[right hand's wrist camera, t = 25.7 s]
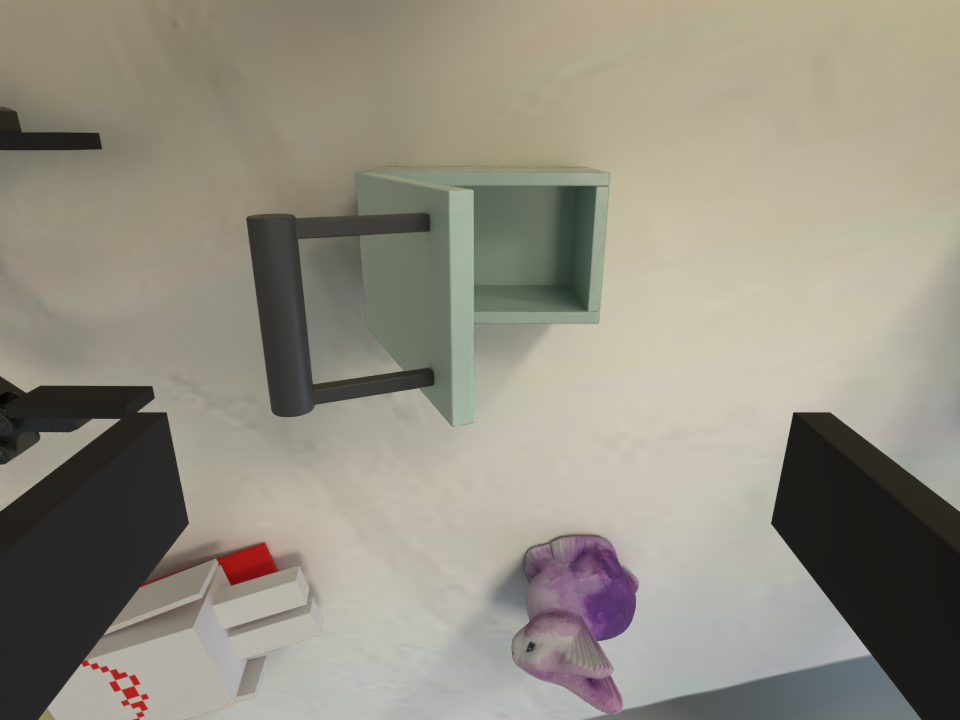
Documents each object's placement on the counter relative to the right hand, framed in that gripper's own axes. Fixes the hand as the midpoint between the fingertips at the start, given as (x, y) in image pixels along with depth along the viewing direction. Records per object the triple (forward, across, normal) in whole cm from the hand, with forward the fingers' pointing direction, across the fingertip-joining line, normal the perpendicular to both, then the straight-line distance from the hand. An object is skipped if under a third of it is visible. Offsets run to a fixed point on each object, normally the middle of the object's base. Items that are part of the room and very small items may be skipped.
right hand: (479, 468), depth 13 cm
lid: (+19, -3, 0) cm, 20 cm away
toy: (+36, -30, -36) cm, 59 cm away
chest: (+36, 0, 0) cm, 36 cm away
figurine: (+36, +9, -32) cm, 49 cm away
